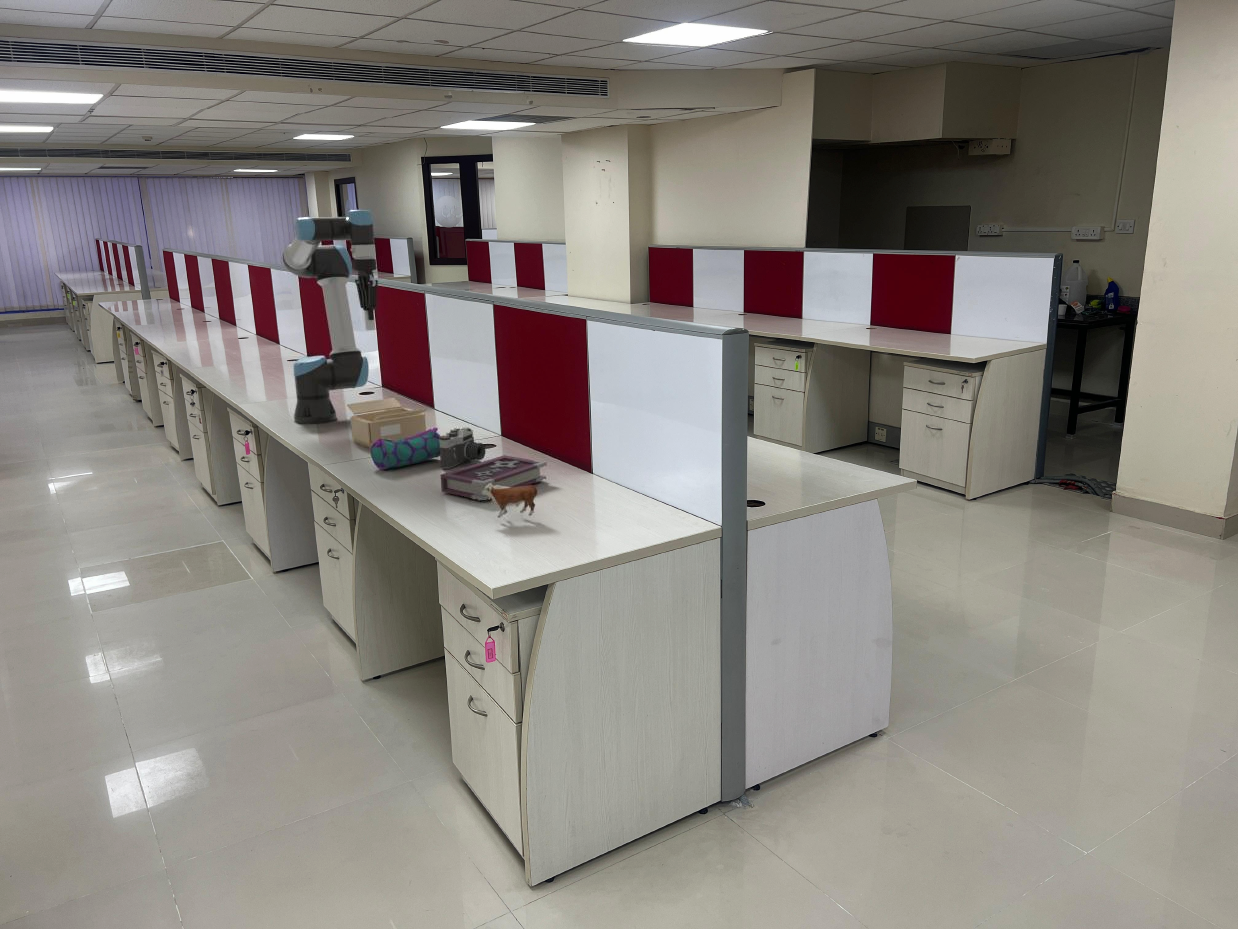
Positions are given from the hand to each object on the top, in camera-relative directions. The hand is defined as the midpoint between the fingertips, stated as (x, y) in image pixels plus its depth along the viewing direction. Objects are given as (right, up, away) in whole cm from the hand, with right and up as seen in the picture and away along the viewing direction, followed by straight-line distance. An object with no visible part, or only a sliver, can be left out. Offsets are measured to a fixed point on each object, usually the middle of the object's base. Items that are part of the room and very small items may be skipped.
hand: (370, 329), depth 299 cm
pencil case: (+20, -46, -30) cm, 58 cm away
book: (+50, -52, -54) cm, 90 cm away
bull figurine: (+57, -58, -81) cm, 115 cm away
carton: (+7, -38, -1) cm, 38 cm away
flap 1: (+2, -27, +2) cm, 27 cm away
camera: (+37, -45, -30) cm, 66 cm away
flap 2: (+11, -30, -9) cm, 33 cm away
